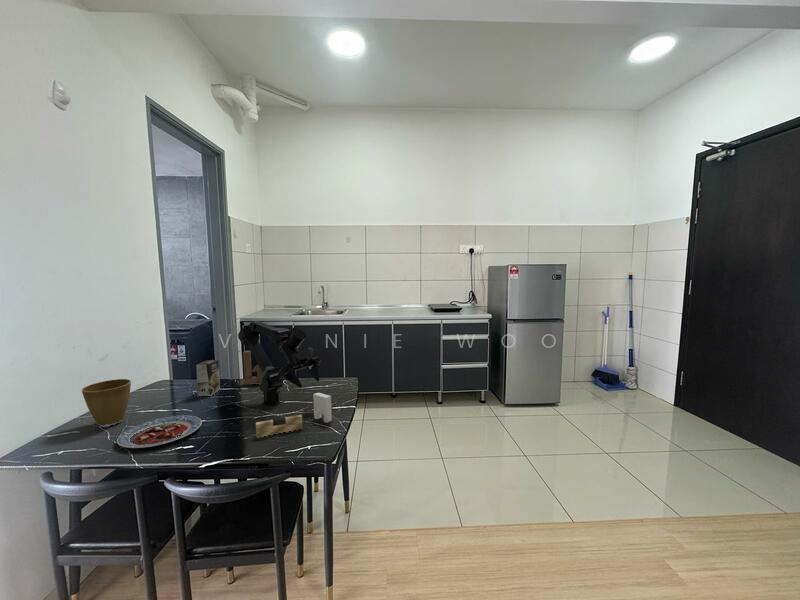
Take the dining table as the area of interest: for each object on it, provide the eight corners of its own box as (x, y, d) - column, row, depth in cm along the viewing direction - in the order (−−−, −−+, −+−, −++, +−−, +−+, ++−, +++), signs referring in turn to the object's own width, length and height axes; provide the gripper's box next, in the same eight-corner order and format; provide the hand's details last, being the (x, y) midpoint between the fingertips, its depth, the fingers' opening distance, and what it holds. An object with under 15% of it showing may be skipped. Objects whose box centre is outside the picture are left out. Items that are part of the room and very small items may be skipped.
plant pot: (99, 418, 144) (95, 380, 143) (140, 414, 148) (137, 377, 146) (75, 434, 130) (71, 392, 128) (122, 429, 133) (119, 388, 132)
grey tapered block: (314, 418, 140) (313, 394, 140) (318, 416, 142) (318, 392, 142) (327, 422, 136) (326, 397, 135) (331, 420, 138) (330, 396, 137)
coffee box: (210, 397, 167) (208, 364, 166) (197, 397, 167) (195, 364, 166) (220, 390, 176) (219, 359, 175) (208, 390, 176) (206, 359, 175)
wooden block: (264, 384, 184) (262, 351, 183) (243, 385, 183) (241, 352, 182) (266, 382, 188) (264, 349, 187) (246, 383, 187) (244, 350, 186)
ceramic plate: (184, 449, 118) (183, 440, 118) (98, 457, 114) (98, 448, 113) (212, 418, 143) (211, 411, 143) (143, 423, 139) (142, 416, 139)
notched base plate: (256, 438, 124) (255, 424, 124) (256, 435, 126) (255, 422, 126) (302, 429, 131) (302, 416, 130) (301, 427, 133) (301, 414, 132)
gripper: (282, 346, 137) (301, 379, 132) (317, 338, 152) (336, 367, 147) (270, 362, 142) (288, 394, 137) (306, 353, 157) (323, 382, 152)
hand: (310, 384), depth 143 cm, fingers open, 9 cm apart
